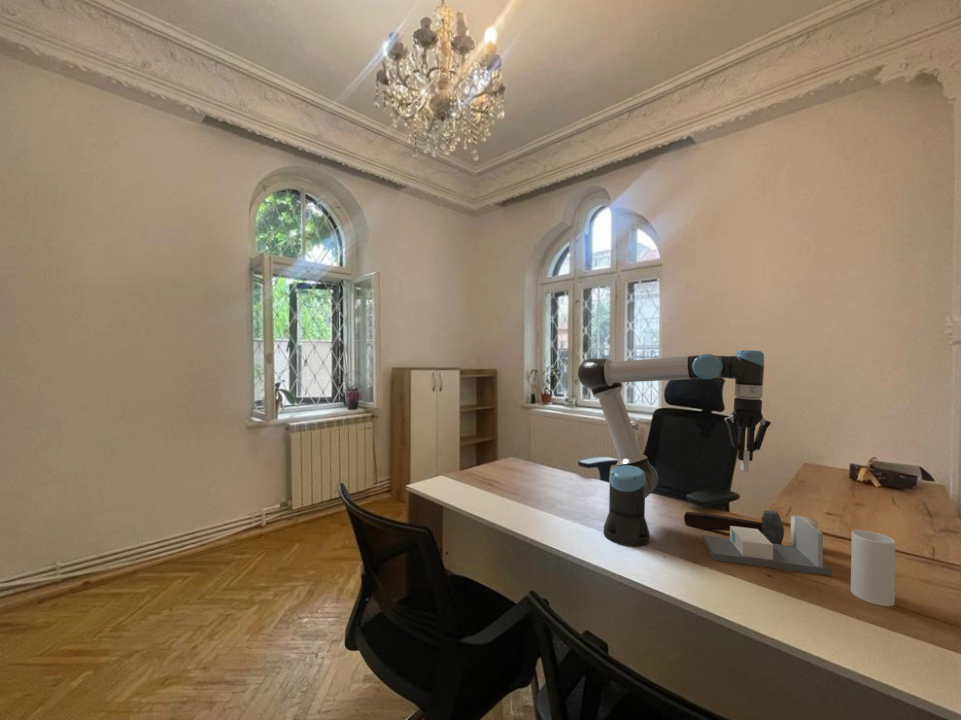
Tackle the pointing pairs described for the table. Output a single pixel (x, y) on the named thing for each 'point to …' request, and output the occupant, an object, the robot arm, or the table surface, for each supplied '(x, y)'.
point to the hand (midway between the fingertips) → (744, 470)
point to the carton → (751, 542)
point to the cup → (873, 567)
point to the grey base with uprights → (779, 551)
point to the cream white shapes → (809, 520)
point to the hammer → (739, 524)
